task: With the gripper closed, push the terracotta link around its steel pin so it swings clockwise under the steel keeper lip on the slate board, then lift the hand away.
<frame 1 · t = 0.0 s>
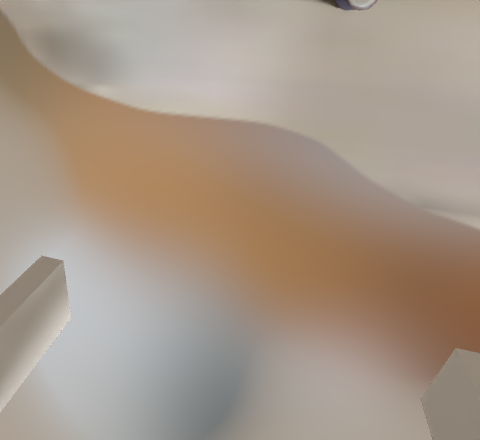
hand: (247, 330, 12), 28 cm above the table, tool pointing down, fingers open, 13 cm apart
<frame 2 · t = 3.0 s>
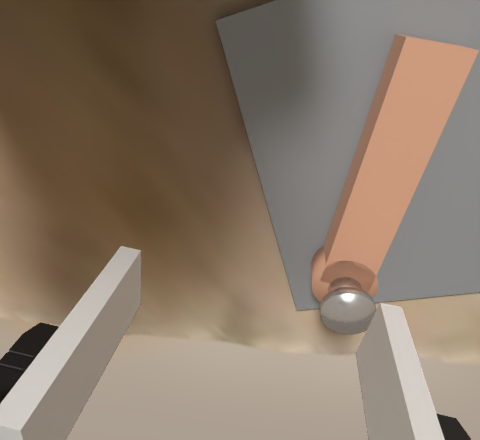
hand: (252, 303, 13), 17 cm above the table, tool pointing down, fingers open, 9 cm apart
base board: (434, 157, 27), on the table
link: (374, 195, 27), point 2 cm above the table, hinge at 65.0°
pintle: (340, 258, 33), resting on base board
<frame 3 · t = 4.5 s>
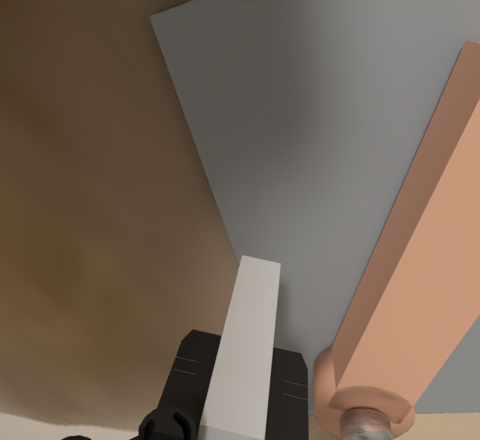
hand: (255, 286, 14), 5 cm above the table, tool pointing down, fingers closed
link: (414, 295, 17), point 2 cm above the table, hinge at 65.0°
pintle: (354, 357, 23), resting on base board
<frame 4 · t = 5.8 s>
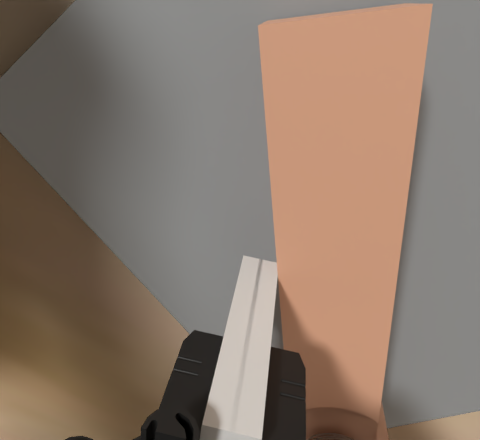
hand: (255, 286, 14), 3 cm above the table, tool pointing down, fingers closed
base board: (415, 203, 15), on the table
link: (332, 300, 15), point 2 cm above the table, hinge at 62.4°, touching gripper
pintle: (328, 372, 21), resting on base board
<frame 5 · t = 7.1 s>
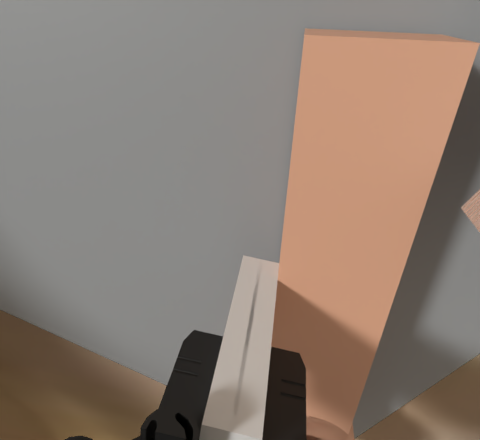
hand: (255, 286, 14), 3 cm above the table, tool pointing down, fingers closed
base board: (243, 212, 16), on the table
link: (322, 312, 15), point 2 cm above the table, hinge at 25.2°, touching gripper
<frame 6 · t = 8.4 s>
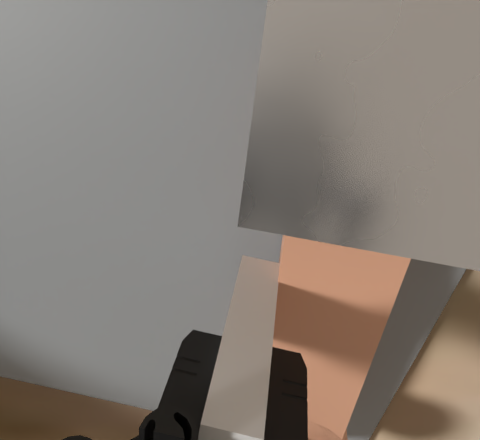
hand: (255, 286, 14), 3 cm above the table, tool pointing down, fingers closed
base board: (164, 245, 18), on the table
link: (320, 317, 15), point 2 cm above the table, hinge at 3.2°, touching gripper
keeper: (394, 73, 12), resting on base board
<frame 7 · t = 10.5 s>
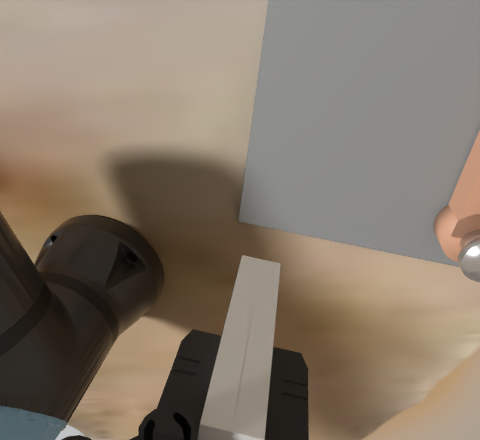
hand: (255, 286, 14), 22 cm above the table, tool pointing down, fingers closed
base board: (405, 120, 31), on the table
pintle: (460, 218, 34), resting on base board
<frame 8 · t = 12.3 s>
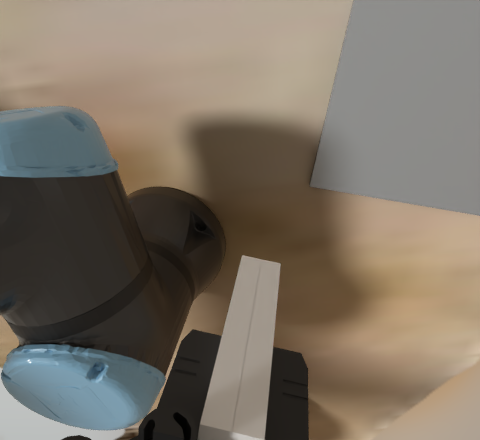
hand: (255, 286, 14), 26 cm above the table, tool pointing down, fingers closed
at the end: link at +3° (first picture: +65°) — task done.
